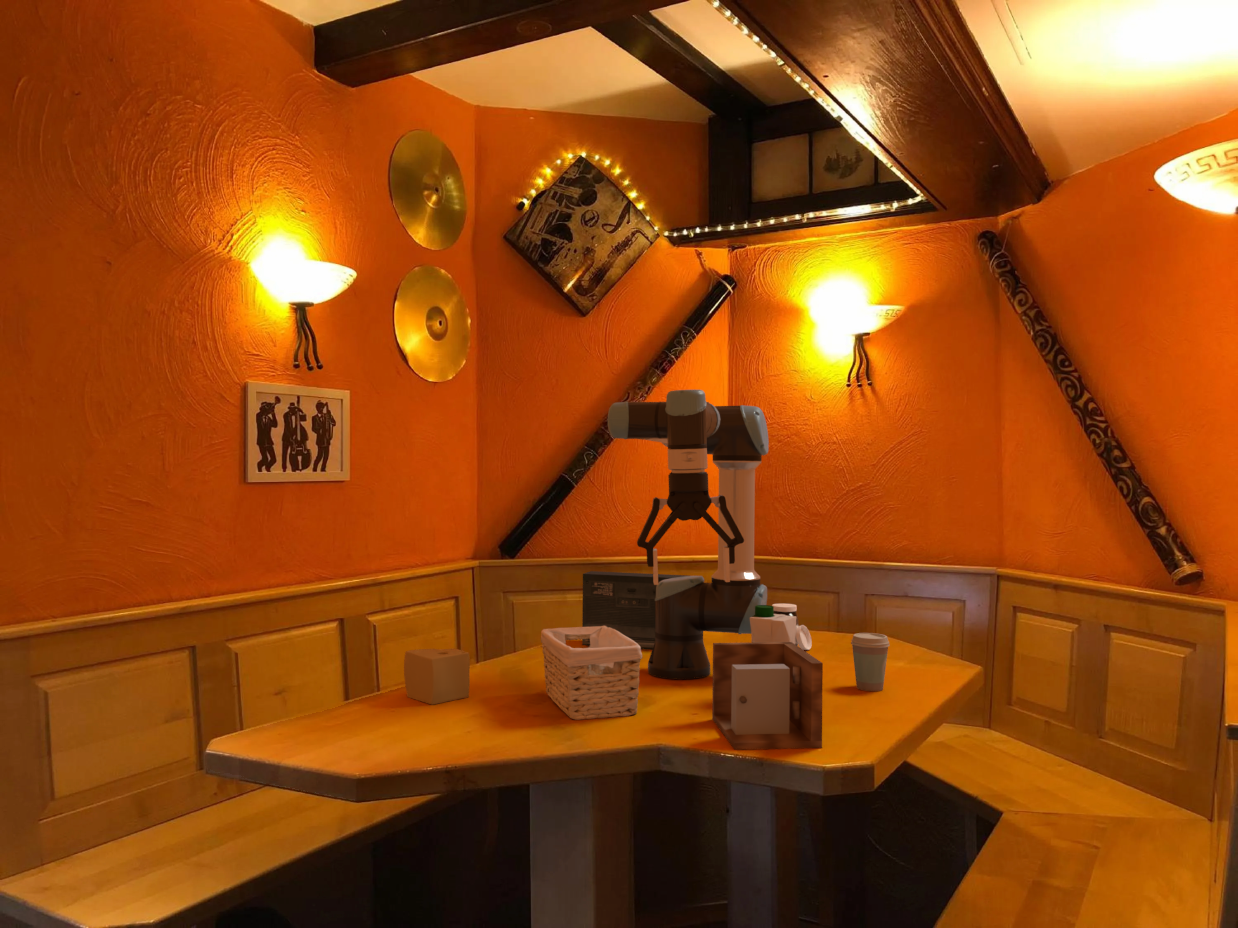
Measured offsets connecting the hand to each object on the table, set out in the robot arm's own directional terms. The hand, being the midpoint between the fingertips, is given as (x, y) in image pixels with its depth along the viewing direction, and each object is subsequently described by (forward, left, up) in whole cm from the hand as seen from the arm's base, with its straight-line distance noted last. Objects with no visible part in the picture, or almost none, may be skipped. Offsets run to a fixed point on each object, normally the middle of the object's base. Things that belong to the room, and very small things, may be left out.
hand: (691, 582), depth 182 cm
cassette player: (-55, +63, -29) cm, 88 cm away
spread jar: (-20, +87, -28) cm, 94 cm away
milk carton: (+2, +31, -28) cm, 42 cm away
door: (+13, +4, -27) cm, 30 cm away
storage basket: (-27, +3, -29) cm, 39 cm away
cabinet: (+12, +7, -28) cm, 32 cm away
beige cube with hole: (-57, -11, -29) cm, 65 cm away
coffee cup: (+15, +54, -28) cm, 63 cm away
